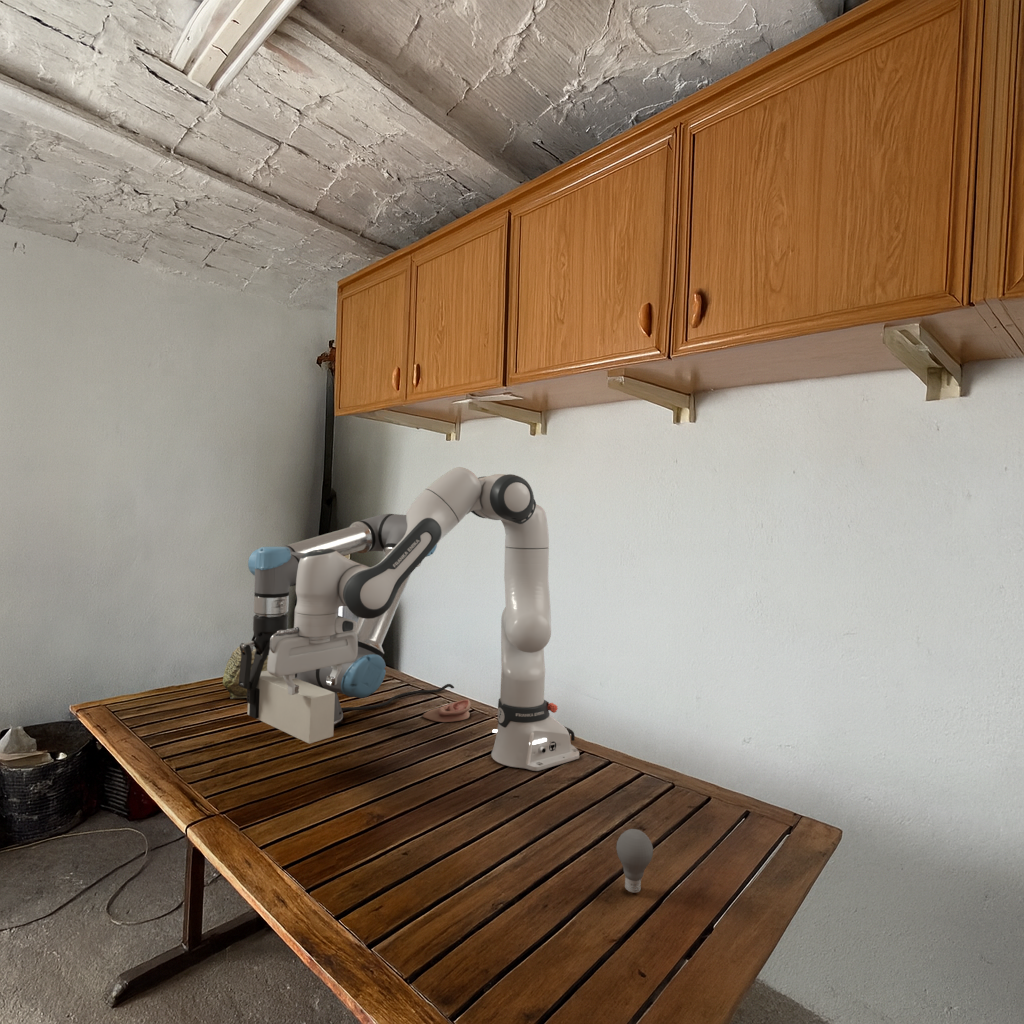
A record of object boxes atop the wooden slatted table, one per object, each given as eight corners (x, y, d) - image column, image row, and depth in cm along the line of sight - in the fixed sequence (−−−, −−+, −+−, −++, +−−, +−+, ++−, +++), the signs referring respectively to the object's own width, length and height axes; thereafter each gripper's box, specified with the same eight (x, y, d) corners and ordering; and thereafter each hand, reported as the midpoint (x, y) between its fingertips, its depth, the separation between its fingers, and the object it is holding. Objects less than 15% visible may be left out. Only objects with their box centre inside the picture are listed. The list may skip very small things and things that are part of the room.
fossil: (218, 695, 195) (220, 647, 195) (278, 685, 208) (279, 640, 207) (228, 703, 189) (230, 653, 188) (289, 692, 201) (290, 645, 201)
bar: (247, 714, 147) (248, 673, 146) (270, 708, 151) (272, 669, 151) (309, 743, 131) (310, 698, 131) (333, 736, 136) (335, 692, 136)
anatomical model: (419, 705, 182) (432, 694, 193) (418, 719, 182) (431, 707, 193) (463, 711, 179) (474, 698, 190) (463, 725, 179) (473, 712, 190)
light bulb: (610, 879, 108) (613, 822, 108) (644, 879, 109) (647, 822, 109) (619, 902, 102) (622, 840, 102) (655, 901, 103) (658, 840, 103)
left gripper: (240, 621, 136) (236, 727, 137) (316, 611, 151) (312, 707, 152) (222, 616, 141) (219, 719, 142) (298, 607, 156) (294, 700, 156)
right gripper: (279, 633, 125) (276, 703, 125) (363, 621, 141) (360, 683, 141) (262, 628, 129) (259, 696, 129) (345, 617, 145) (343, 677, 145)
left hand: (267, 713), depth 147 cm, fingers closed on bar, 6 cm apart
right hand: (312, 689), depth 135 cm, fingers open, 8 cm apart
